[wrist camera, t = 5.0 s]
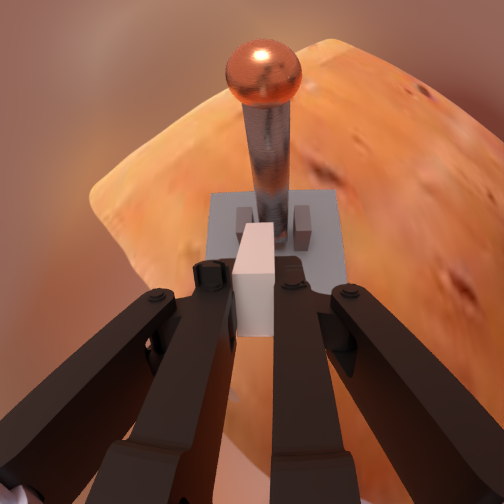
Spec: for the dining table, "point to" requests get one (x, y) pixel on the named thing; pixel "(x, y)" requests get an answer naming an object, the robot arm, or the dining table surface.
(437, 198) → the dining table surface
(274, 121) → the lever
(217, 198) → the grey lever base
